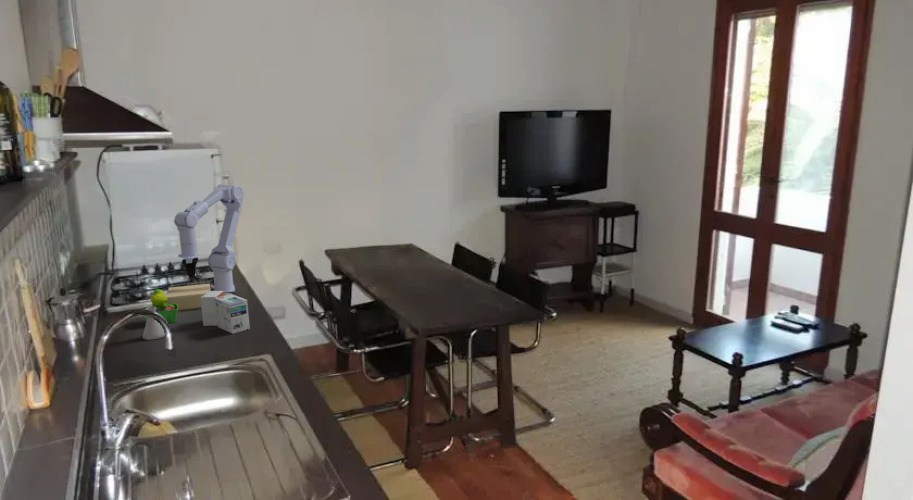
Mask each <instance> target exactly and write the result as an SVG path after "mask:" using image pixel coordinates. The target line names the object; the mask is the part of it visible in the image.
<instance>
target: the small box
mask: <svg viewBox="0 0 913 500" xmlns="http://www.w3.org/2000/svg"><path fill="white" fill-rule="evenodd" d="M225 294H226V293H224V291H214V290H211V291H209V292H208V293H206V294H205V295H203V296H202V297H200V298H201V307H202V308H201V315H202V324H203V326H204V327H205V326H206V327H209V326H210V327H211V326H212V327H214V326H217V327H218V323H217V313H216V304H215V298H216V297H221V296H225Z"/></svg>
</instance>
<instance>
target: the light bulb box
mask: <svg viewBox="0 0 913 500" xmlns="http://www.w3.org/2000/svg"><path fill="white" fill-rule="evenodd" d="M215 304H216V313H217V323H218V326H217V328H219V329H221V330H224V331H226V332H227V333H230V334H237V333H240V332H243V331H247V329H248V330H250V329H251V327H250V318H249V307H248V299H246V298H245V297H244V298H243V297H240V296H238V295H235V294H232V293H231V294H226V295H225V296H221V297H216V298H215Z"/></svg>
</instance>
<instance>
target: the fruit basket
mask: <svg viewBox="0 0 913 500" xmlns="http://www.w3.org/2000/svg"><path fill="white" fill-rule="evenodd" d="M166 295H167V294H166V293H165V291H163V290H161V289H160V288H159V289H158V288H157V289H154V291H153V293H152V296H151V297H150V302H151V304H152V306H150V307H156V310H155V312H157V313H159V314H161V315H162V316H163V317H164V318H165V319H166V320H167V322H168V323H167V324H172V323H176V322H177V316H178V304H167V297H166ZM148 307H149V306H146V307H143V308H142V310H143V309H146V308H148ZM144 319H145V322H146V321H147V318H145V317H144Z"/></svg>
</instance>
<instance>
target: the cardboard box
mask: <svg viewBox="0 0 913 500" xmlns="http://www.w3.org/2000/svg"><path fill="white" fill-rule="evenodd" d="M210 291H212V290H211V289H210ZM202 296H203V295H200V296H191V297H181V298H171V299H167V304H178V311H179V312H180V311H188V310H197V309H202V307H201V298H200V297H202ZM178 311H177V312H178Z"/></svg>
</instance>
